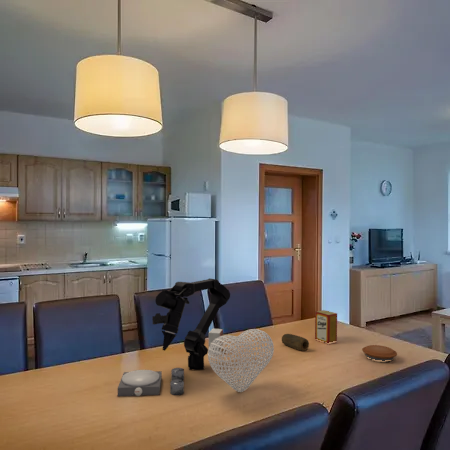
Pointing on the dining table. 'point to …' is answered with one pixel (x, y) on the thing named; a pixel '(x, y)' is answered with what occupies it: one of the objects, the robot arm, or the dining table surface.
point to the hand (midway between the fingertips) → (164, 349)
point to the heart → (233, 340)
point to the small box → (213, 335)
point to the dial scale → (140, 383)
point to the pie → (379, 352)
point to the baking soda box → (326, 326)
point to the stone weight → (295, 341)
